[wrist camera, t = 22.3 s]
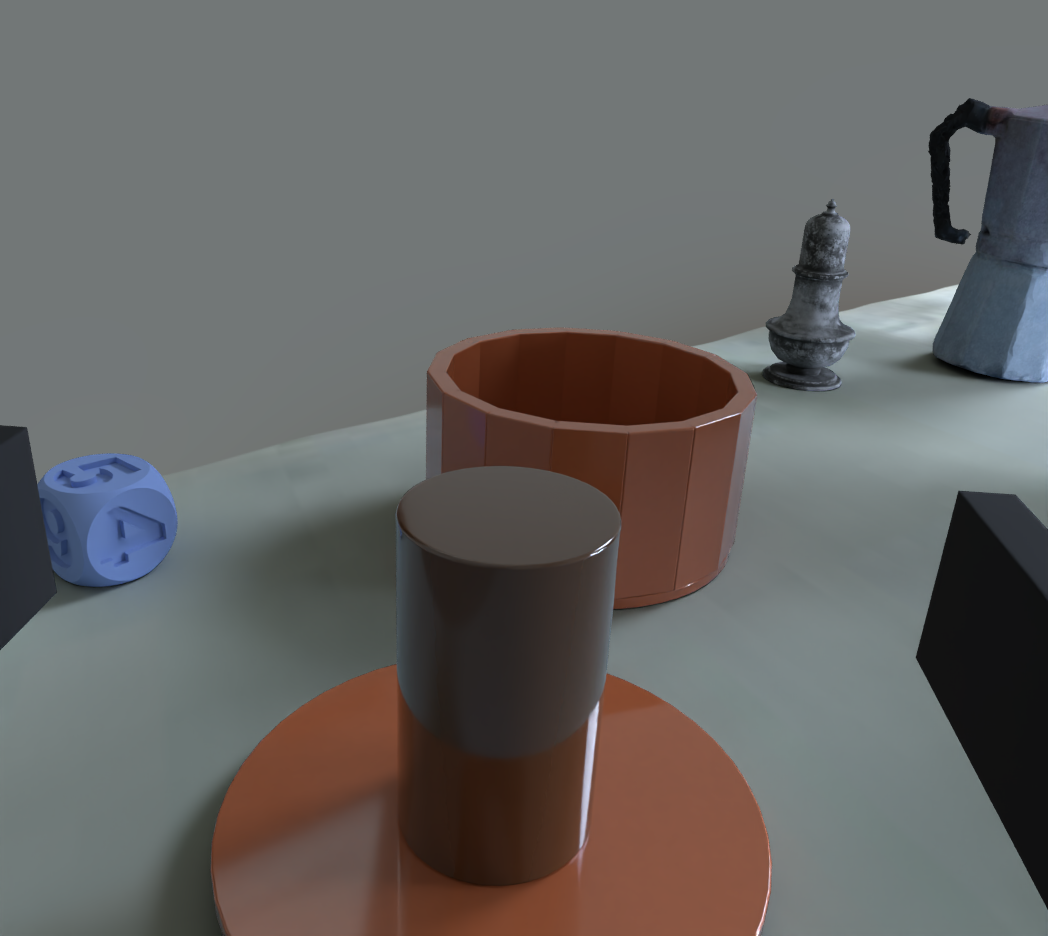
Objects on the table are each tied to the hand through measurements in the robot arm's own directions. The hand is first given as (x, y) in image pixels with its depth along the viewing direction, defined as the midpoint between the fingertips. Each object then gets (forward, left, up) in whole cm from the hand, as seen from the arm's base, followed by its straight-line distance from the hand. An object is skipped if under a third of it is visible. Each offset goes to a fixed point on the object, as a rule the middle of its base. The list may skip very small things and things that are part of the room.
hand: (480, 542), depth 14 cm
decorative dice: (+17, -21, -14) cm, 30 cm away
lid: (0, -8, -13) cm, 15 cm away
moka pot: (-32, -58, -14) cm, 67 cm away
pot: (-2, -27, -13) cm, 30 cm away
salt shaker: (-17, -52, -14) cm, 56 cm away
